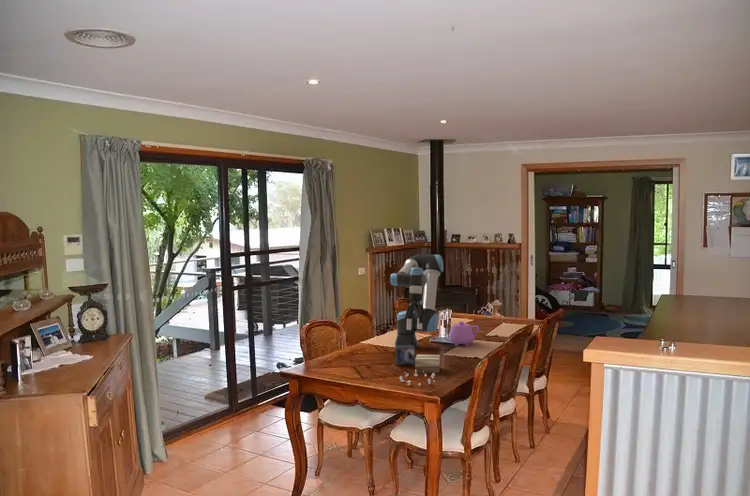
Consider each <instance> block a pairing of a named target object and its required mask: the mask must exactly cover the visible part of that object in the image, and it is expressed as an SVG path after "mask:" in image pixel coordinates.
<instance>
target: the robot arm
mask: <svg viewBox="0 0 750 496" xmlns="http://www.w3.org/2000/svg"><path fill="white" fill-rule="evenodd" d="M443 272H444V260H443V257H442V255H441V254H416V255H413V256H411V257H409V258H408V259H406V261H405V262H404V264H403V266H402V268H401V269H400V270H399V271H398V272H397V273H396V272H395V273H394V272H393V273H391V274H390V278H389V280H390V281H389V282H390V285H391V286H396V287H402V286H403V287H409V289H408V290H409V295H408V296H409V297H408V300H410V301H408V304H407V308H406V310H403V311H399V312H397V314H396V326H397V327H396V330H397V331H396V332H397V333H396V334H397V335H396V338H395V342H394V347H395V346H400V345H413V346H414V347H415V349H417V348H418V347H419V341H418V339H417V337H416V332H426V333H427V332H428V333H431V332H432V333H434V332H436V330H437V329H438V327H439V322H440V315H439V313H438V312H437V310H436V299H437V290H438V279H439V277H440V276H441V273H443Z"/></svg>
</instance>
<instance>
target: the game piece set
mask: <svg viewBox="0 0 750 496" xmlns="http://www.w3.org/2000/svg"><path fill="white" fill-rule="evenodd" d="M414 371H417V370H415V369H414ZM423 372H424V371H423ZM403 374H404V376H405V378H407V377H408V376H409V373H406V371H404V372H403ZM423 374H424V377H427V375H428V373H423ZM418 375H419V374H418V373H416V372H415V373H414V374H413V376H414V377H418ZM435 376H436V373H431V376H430V378H431V379H430V378H428V379H427V382H428V385H431V380H432V379H433V382H434V383H435V382H436V380H434V379H435V378H434V377H435ZM399 381H400V383H403V382H405V379H403V376H402V375H400V376H399ZM411 382H412V380H407V386H411ZM421 385H422V383H420V382H419V383H418V386H419V387H421Z"/></svg>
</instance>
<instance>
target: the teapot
mask: <svg viewBox="0 0 750 496" xmlns="http://www.w3.org/2000/svg"><path fill="white" fill-rule="evenodd" d="M474 328H475V331H473V329H474ZM479 330H480V326H479V325H471V324H470V323H465V322H464V321H458V323H454V324H452V327H451V328H450V330H449V334H448V340H449V341H450V342H451V344H455V346H454V347H459V345H464V346H465V347H470V346H471V345H470V344H473V342H474V340H475V336H476V335H477V334H478V332H479Z"/></svg>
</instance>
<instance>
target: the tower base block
mask: <svg viewBox="0 0 750 496" xmlns="http://www.w3.org/2000/svg"><path fill="white" fill-rule="evenodd" d="M414 367H415V369H414V371H415V370H417V371H415V372H416V373H417V374H424V373H425V374H432V373H434V374H440V370H441V364H440V365H439V367H430V366H415V365H414ZM423 371H424V372H423Z"/></svg>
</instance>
